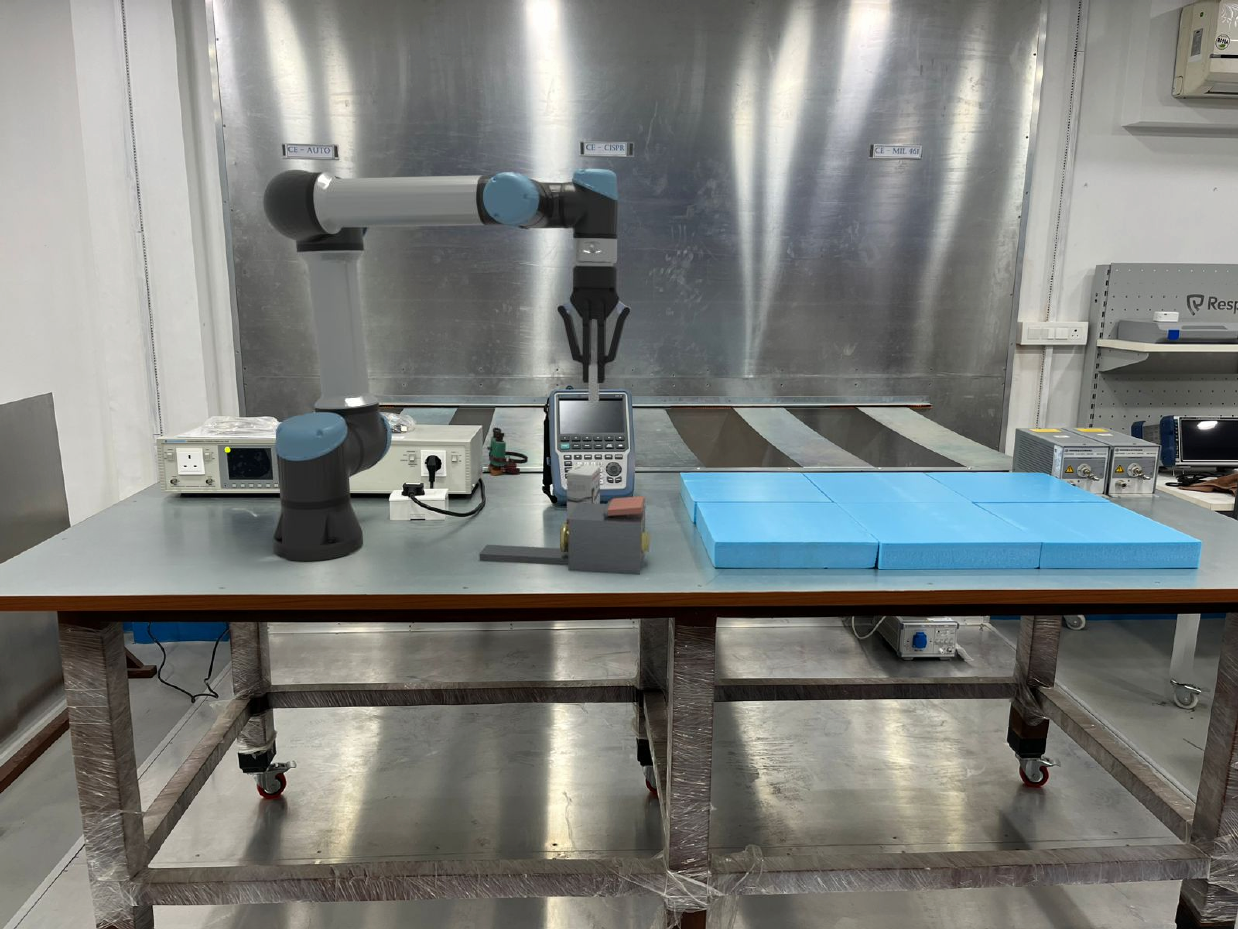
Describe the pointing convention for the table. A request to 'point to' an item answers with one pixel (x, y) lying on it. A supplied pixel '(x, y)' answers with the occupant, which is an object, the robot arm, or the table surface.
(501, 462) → the green pump
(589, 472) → the ink box
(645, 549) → the lynch pin
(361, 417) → the robot arm
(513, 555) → the block
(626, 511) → the salmon pink slab
